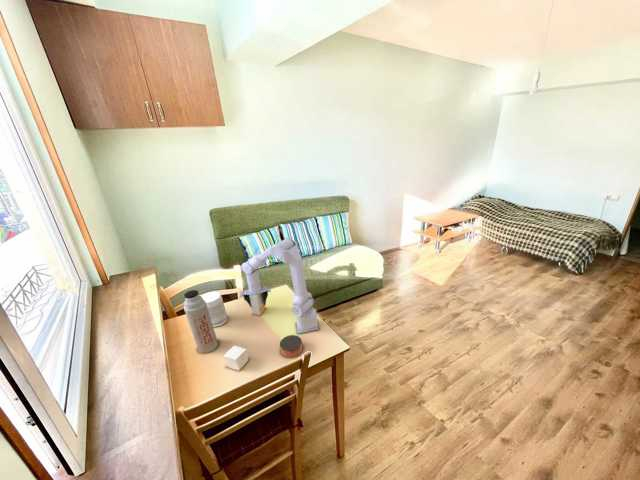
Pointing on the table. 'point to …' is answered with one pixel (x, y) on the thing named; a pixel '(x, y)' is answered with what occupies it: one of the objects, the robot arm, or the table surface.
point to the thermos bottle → (200, 322)
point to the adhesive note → (236, 357)
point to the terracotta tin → (291, 346)
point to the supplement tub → (215, 308)
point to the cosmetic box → (257, 303)
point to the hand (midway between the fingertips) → (258, 305)
